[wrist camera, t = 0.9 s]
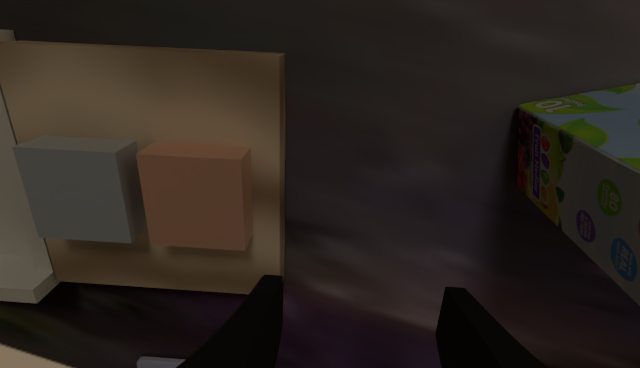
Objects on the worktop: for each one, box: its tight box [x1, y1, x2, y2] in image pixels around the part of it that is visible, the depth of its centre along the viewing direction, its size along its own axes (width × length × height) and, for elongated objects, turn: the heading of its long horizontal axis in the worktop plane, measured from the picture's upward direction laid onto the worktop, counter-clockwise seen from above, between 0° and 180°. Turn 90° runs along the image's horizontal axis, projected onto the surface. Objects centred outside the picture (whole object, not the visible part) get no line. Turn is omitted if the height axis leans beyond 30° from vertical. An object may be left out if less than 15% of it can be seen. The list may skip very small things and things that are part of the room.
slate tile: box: [12, 135, 147, 243], centre depth 20 cm, size 5×5×2 cm
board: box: [0, 41, 285, 294], centre depth 21 cm, size 14×14×2 cm
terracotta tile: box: [136, 142, 253, 251], centre depth 20 cm, size 5×5×2 cm
